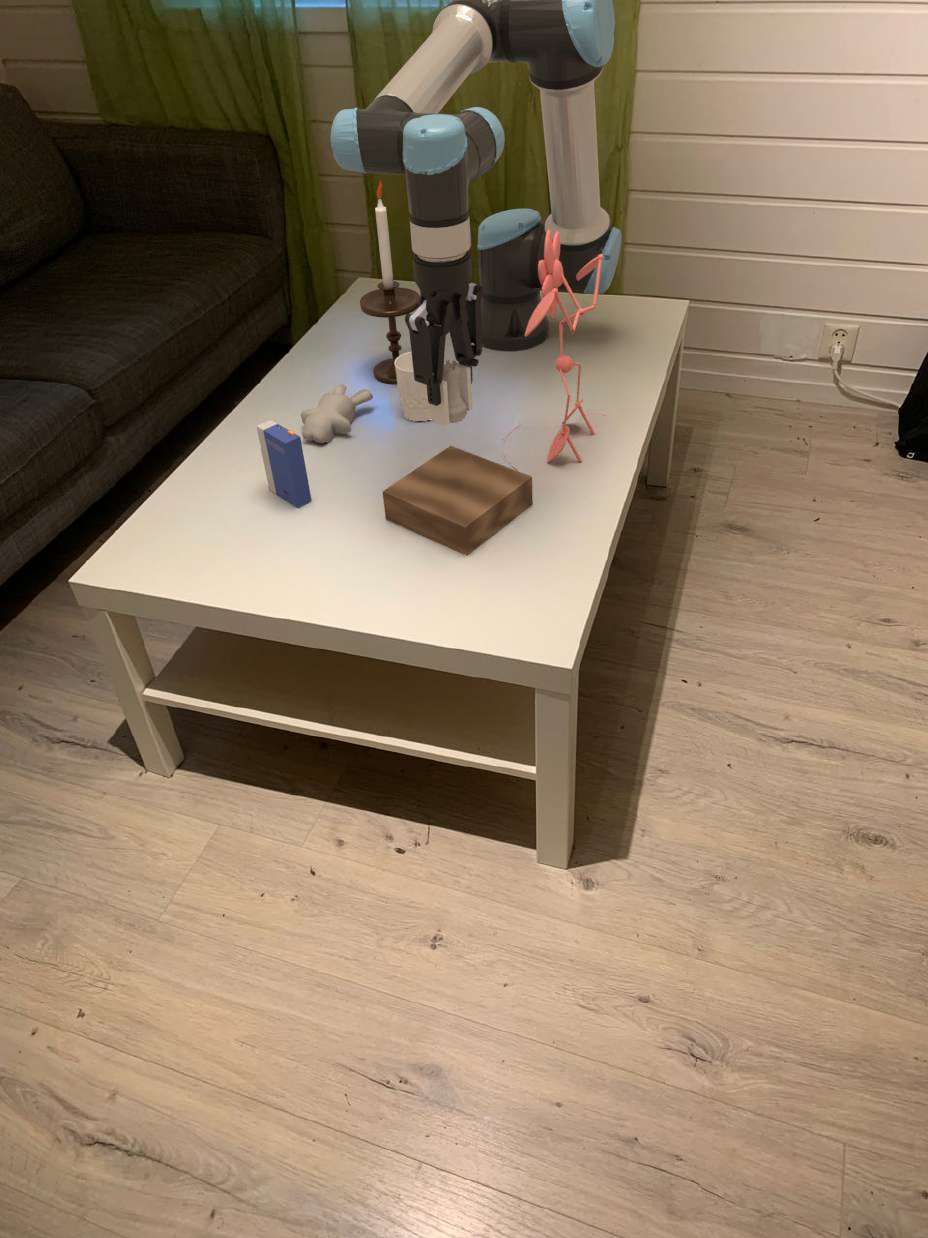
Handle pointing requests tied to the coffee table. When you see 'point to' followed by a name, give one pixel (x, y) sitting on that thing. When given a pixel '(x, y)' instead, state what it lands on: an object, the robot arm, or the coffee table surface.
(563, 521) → the coffee table surface
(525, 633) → the coffee table surface
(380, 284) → the candlestick
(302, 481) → the walkman
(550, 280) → the figurine
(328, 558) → the coffee table surface
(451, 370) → the rook chess piece
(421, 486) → the walnut base
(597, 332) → the coffee table surface
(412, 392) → the white cup
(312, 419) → the bunny figurine
